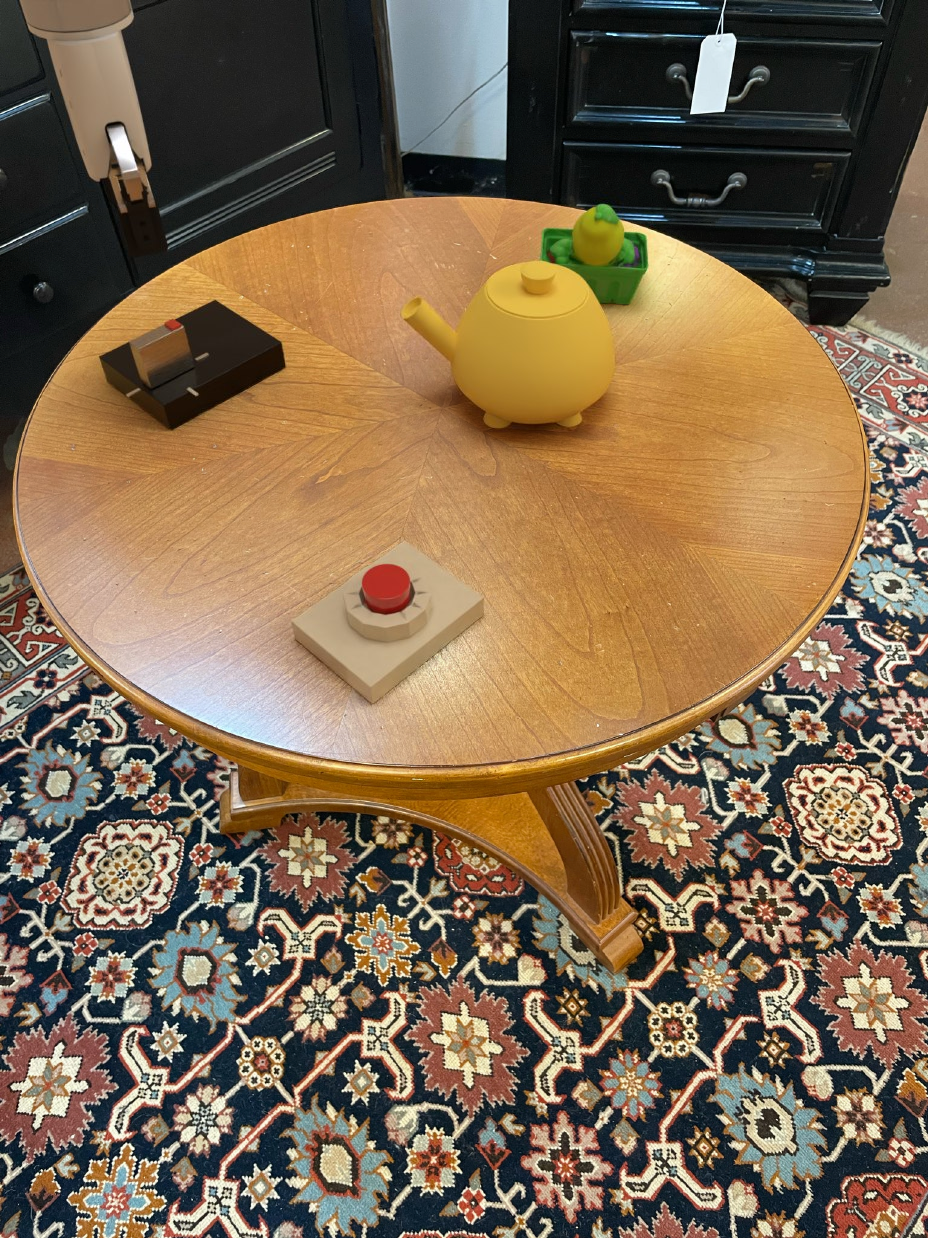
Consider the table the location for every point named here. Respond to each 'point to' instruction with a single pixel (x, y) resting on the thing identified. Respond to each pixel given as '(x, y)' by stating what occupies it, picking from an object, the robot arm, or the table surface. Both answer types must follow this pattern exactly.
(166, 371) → the hob knob
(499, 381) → the teapot
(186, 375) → the panel
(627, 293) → the fruit basket
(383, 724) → the table surface
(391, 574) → the button
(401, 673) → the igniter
